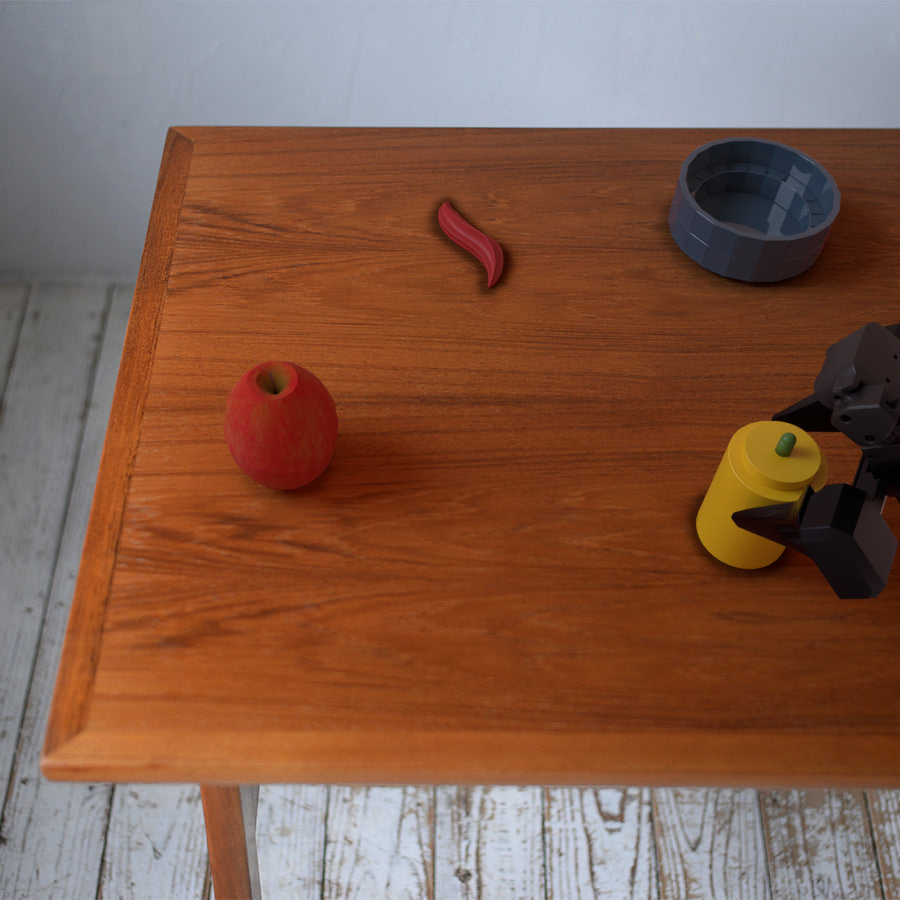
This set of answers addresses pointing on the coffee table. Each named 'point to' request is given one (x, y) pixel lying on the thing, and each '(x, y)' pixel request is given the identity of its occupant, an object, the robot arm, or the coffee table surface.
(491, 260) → the cayenne pepper
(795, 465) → the pepper
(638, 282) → the coffee table surface
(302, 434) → the apple
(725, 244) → the bowl
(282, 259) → the coffee table surface
